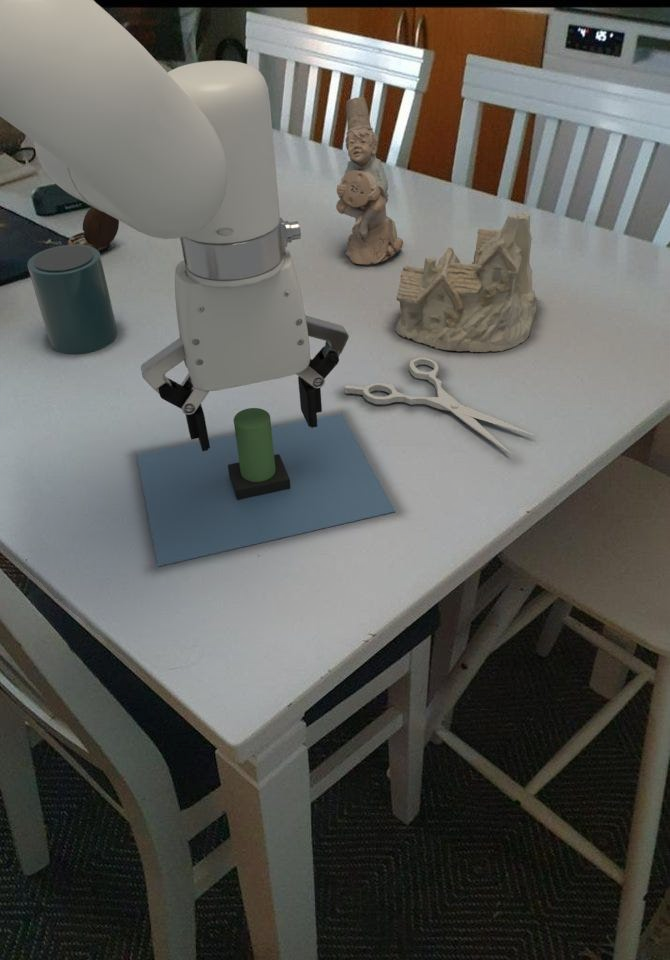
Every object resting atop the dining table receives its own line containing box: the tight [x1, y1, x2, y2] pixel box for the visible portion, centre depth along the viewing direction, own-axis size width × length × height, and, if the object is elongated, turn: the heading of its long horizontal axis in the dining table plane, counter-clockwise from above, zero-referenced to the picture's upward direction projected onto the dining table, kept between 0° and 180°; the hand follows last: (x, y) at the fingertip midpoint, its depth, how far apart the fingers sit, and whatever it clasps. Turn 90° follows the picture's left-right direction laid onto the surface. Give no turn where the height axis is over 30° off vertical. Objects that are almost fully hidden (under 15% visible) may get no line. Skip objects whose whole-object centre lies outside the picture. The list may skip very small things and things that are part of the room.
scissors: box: [343, 356, 537, 457], centre depth 83 cm, size 11×1×20 cm
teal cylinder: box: [27, 244, 119, 355], centre depth 95 cm, size 8×8×10 cm
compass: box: [65, 206, 120, 253], centre depth 115 cm, size 8×8×7 cm
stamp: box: [228, 407, 290, 500], centre depth 73 cm, size 5×4×7 cm
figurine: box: [335, 96, 404, 265], centre depth 107 cm, size 9×8×20 cm
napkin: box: [136, 413, 396, 568], centre depth 75 cm, size 21×16×1 cm
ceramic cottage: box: [395, 211, 538, 353], centre depth 94 cm, size 16×16×15 cm
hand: (257, 430), depth 72 cm, fingers open, 9 cm apart
